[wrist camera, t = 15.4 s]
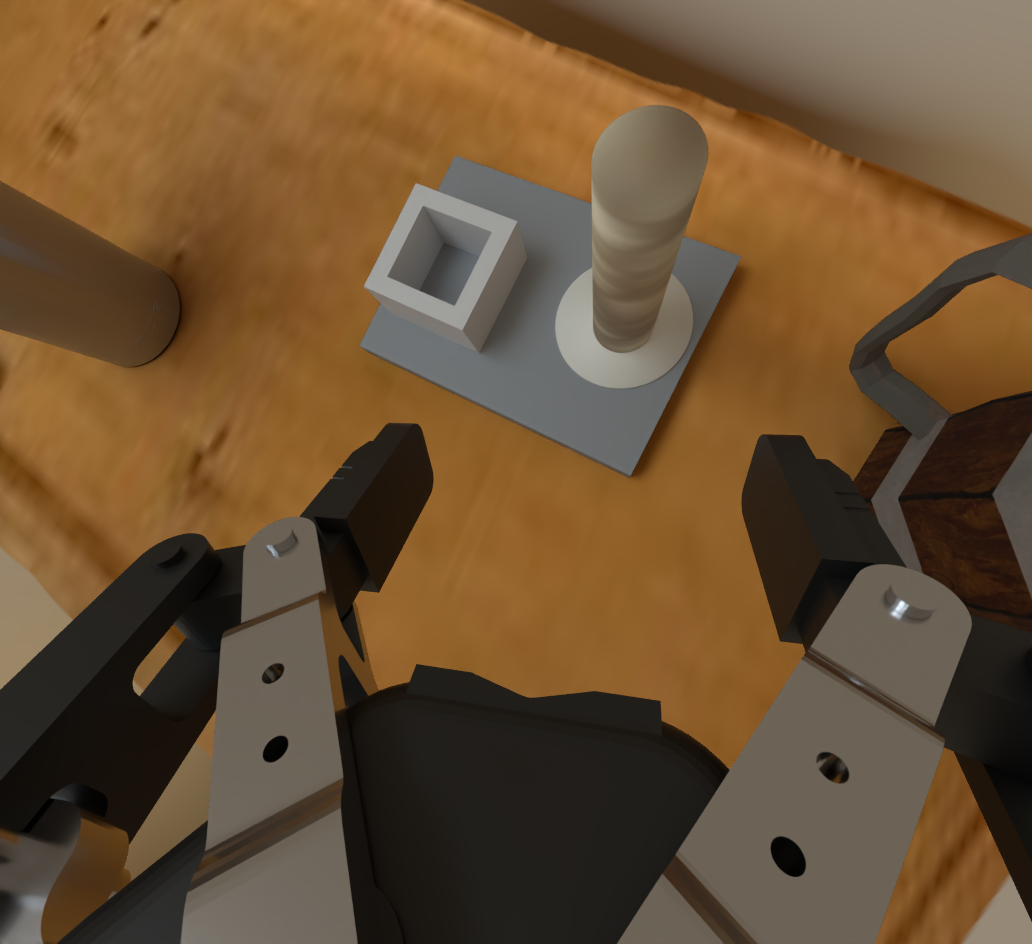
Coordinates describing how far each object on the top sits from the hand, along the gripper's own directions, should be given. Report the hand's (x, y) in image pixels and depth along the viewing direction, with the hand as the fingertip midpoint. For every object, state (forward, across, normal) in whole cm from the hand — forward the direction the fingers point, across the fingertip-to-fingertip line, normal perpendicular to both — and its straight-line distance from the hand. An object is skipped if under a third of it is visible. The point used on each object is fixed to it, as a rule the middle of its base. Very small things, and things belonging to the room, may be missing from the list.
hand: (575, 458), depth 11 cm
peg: (+21, -1, +4) cm, 22 cm away
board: (+23, +5, +4) cm, 24 cm away
